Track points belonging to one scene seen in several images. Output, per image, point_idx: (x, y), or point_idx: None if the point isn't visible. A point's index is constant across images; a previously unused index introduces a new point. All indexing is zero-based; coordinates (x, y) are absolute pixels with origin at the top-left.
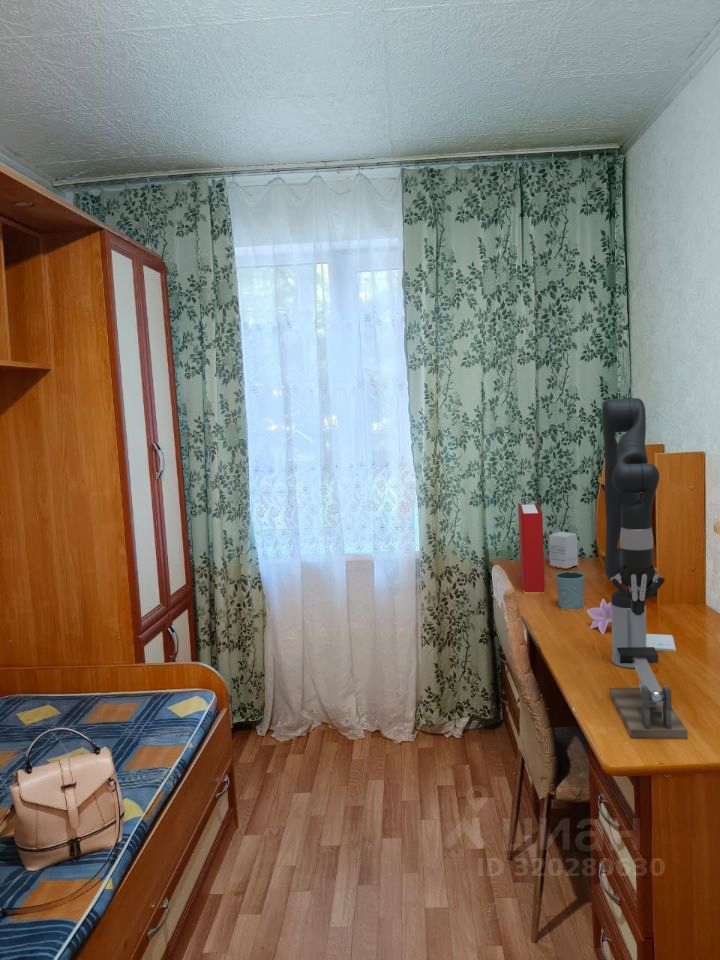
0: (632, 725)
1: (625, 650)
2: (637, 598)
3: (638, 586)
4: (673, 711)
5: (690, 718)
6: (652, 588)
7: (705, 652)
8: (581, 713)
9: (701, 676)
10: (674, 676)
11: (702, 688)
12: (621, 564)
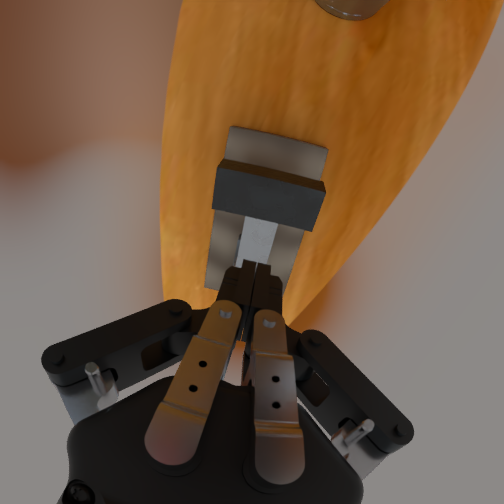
0: (210, 277)
1: (235, 188)
2: (231, 353)
3: (247, 383)
4: (296, 251)
5: (323, 246)
6: (311, 412)
7: (483, 30)
8: (160, 191)
9: (440, 102)
10: (399, 80)
11: (414, 147)
12: (76, 502)
